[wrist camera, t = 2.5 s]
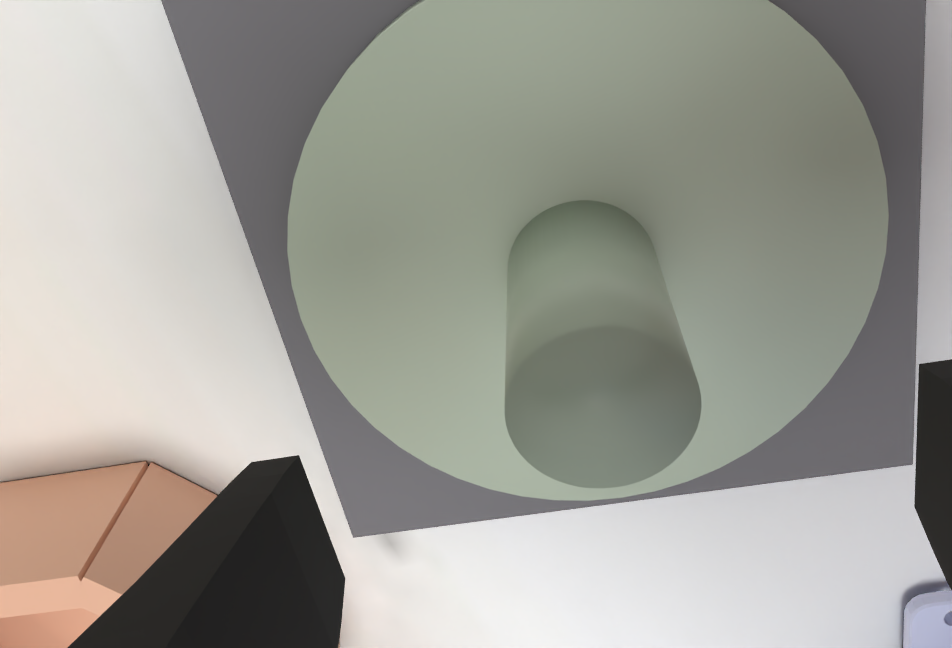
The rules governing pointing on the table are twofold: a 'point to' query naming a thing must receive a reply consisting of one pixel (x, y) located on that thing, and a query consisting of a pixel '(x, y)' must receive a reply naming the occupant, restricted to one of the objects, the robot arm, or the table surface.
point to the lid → (587, 237)
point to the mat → (431, 490)
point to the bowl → (83, 545)
